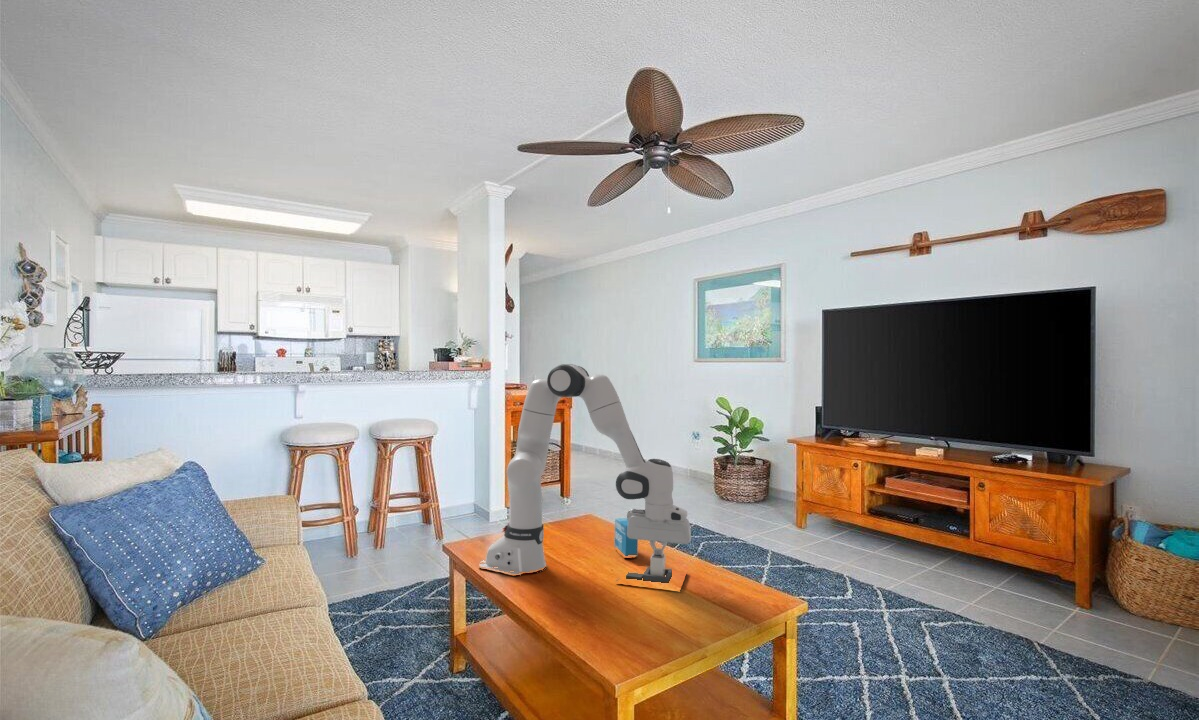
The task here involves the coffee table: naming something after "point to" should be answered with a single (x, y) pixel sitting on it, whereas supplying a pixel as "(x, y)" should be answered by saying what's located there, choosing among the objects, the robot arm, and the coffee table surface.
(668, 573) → the board
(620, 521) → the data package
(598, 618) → the coffee table surface
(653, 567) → the plug
